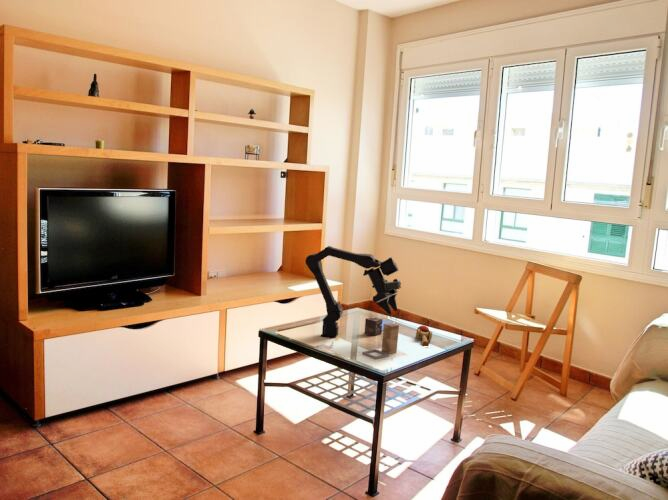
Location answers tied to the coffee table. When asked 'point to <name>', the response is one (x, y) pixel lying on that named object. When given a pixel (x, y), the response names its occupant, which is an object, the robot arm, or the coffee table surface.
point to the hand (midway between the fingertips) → (393, 312)
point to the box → (373, 326)
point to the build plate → (380, 354)
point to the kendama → (424, 335)
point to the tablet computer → (385, 323)
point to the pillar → (390, 338)
